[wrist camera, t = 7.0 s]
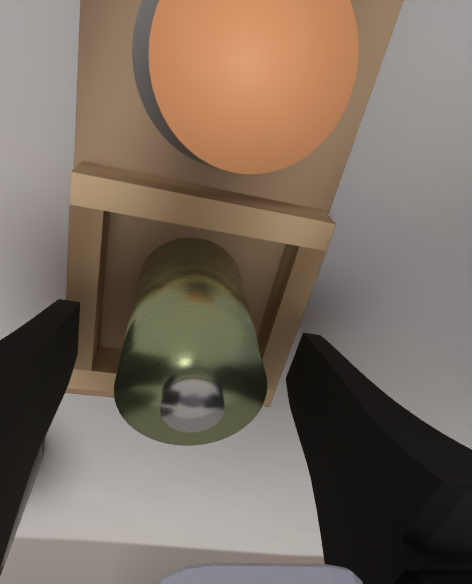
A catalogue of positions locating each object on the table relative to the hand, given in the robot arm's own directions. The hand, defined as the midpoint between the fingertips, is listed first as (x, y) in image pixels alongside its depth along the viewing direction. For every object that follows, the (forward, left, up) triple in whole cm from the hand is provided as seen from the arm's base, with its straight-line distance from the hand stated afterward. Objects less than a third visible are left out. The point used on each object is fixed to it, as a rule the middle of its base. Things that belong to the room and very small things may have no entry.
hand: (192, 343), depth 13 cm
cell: (0, 0, -3) cm, 3 cm away
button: (0, -8, -1) cm, 8 cm away
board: (0, -3, -5) cm, 5 cm away
